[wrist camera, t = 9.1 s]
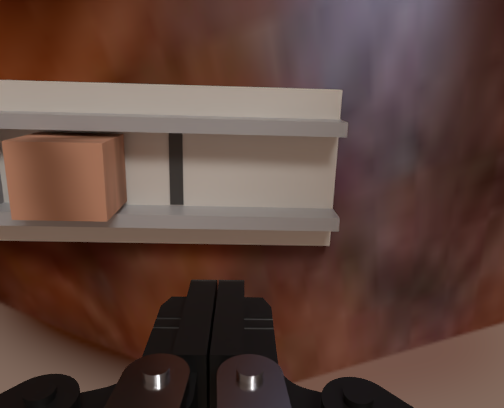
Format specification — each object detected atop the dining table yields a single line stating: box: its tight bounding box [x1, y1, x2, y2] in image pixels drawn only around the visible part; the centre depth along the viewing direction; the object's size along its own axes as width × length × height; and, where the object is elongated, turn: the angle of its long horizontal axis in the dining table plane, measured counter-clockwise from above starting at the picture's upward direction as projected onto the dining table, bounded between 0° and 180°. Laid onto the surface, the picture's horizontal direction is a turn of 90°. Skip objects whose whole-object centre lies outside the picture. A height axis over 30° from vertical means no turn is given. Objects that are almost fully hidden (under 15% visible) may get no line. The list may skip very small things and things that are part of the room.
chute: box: [0, 80, 348, 246], centre depth 31 cm, size 26×12×5 cm, turn 88°
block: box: [2, 132, 127, 222], centre depth 29 cm, size 6×5×5 cm
